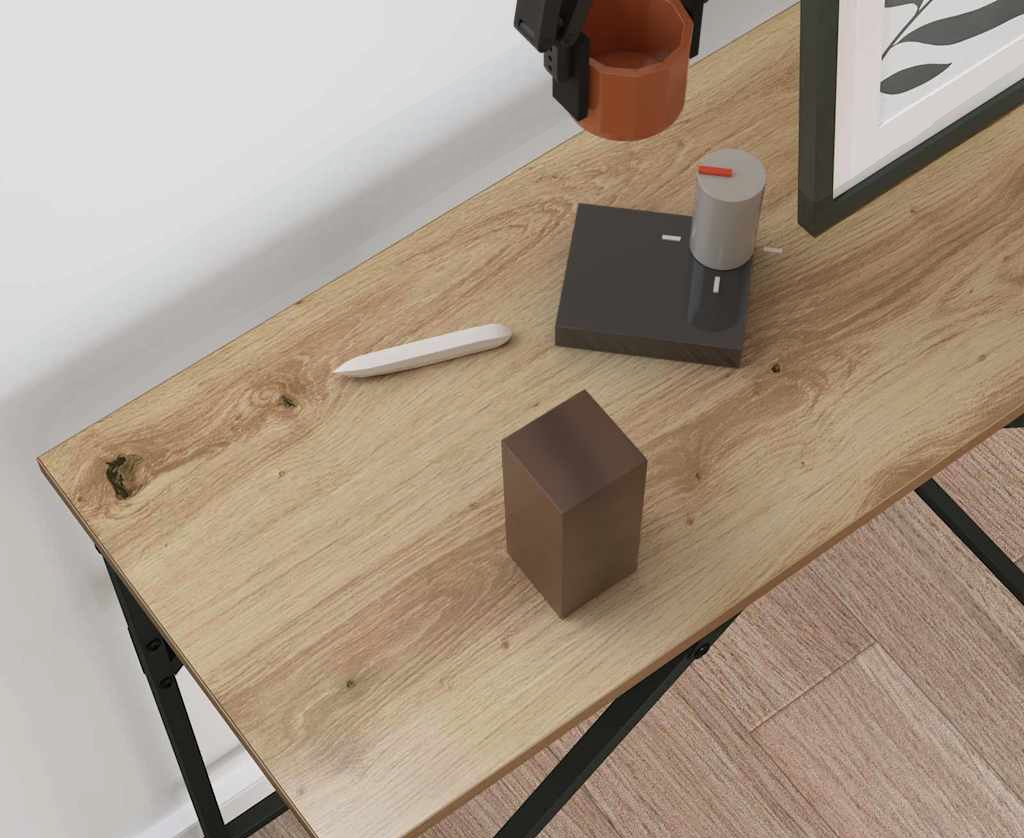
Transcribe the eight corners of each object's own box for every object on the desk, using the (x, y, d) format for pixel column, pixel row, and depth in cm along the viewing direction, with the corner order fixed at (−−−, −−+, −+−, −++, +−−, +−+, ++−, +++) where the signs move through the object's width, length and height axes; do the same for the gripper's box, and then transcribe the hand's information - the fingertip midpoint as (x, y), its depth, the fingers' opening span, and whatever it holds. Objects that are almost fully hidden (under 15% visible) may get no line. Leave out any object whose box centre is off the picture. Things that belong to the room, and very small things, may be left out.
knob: (757, 222, 125) (770, 149, 118) (751, 274, 122) (763, 202, 115) (693, 215, 125) (701, 142, 118) (685, 266, 123) (694, 194, 116)
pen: (331, 373, 122) (329, 360, 120) (509, 329, 124) (509, 316, 122) (336, 390, 121) (333, 377, 120) (515, 345, 123) (515, 332, 121)
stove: (783, 226, 128) (787, 204, 126) (766, 372, 121) (771, 352, 119) (581, 202, 129) (582, 180, 127) (554, 345, 123) (554, 325, 120)
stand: (581, 503, 116) (584, 388, 103) (637, 569, 113) (648, 459, 100) (506, 551, 114) (500, 440, 101) (561, 619, 112) (562, 514, 98)
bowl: (691, 57, 105) (698, -11, 100) (677, 148, 102) (684, 81, 96) (573, 45, 106) (574, -24, 101) (555, 134, 102) (555, 67, 97)
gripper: (755, -360, 87) (717, -29, 106) (433, -205, 81) (456, 113, 101) (848, -289, 84) (791, 37, 103) (520, -124, 78) (526, 188, 98)
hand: (625, 74), depth 102 cm, fingers closed on bowl, 8 cm apart
